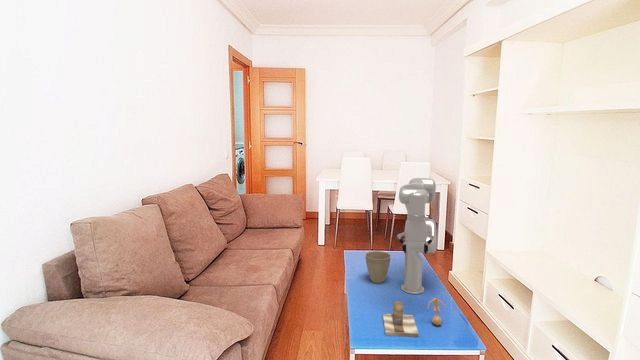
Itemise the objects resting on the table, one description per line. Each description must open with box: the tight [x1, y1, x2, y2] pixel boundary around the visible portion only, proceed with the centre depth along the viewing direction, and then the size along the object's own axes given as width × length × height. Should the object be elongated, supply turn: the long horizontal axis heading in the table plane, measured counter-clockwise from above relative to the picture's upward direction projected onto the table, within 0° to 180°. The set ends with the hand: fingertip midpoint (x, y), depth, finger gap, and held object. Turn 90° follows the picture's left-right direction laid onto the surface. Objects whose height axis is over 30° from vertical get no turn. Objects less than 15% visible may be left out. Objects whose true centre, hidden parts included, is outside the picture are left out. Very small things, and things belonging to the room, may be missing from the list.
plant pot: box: [364, 250, 392, 284], centre depth 213 cm, size 15×15×16 cm
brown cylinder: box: [392, 301, 404, 325], centre depth 163 cm, size 4×4×9 cm
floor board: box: [382, 313, 420, 338], centre depth 164 cm, size 16×14×2 cm
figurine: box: [427, 297, 446, 326], centre depth 165 cm, size 8×6×12 cm
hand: (414, 252), depth 173 cm, fingers open, 9 cm apart
